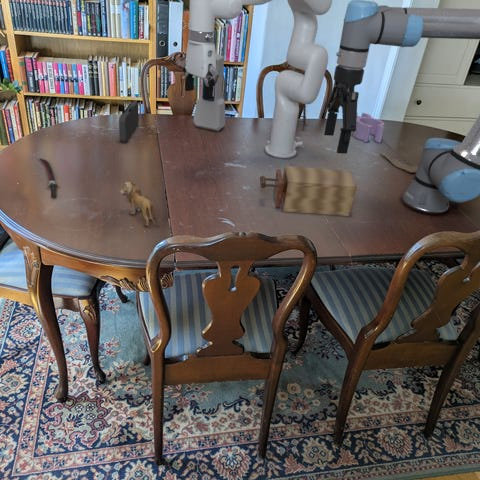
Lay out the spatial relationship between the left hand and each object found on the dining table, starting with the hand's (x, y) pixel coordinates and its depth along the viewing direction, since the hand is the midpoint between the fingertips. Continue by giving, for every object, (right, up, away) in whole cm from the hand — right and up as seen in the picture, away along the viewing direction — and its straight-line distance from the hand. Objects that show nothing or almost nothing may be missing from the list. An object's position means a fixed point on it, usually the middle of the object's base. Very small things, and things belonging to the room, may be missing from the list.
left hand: (198, 94), depth 148 cm
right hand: (+40, -19, -14) cm, 47 cm away
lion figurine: (-16, -39, -12) cm, 44 cm away
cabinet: (+37, -35, +4) cm, 51 cm away
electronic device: (0, +3, +57) cm, 57 cm away
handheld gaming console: (-32, -3, +42) cm, 53 cm away
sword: (-49, -26, +3) cm, 56 cm away
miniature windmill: (+39, +7, +69) cm, 79 cm away
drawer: (+32, -33, +3) cm, 46 cm away
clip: (+71, +3, +68) cm, 98 cm away
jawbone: (+80, -15, +42) cm, 91 cm away
